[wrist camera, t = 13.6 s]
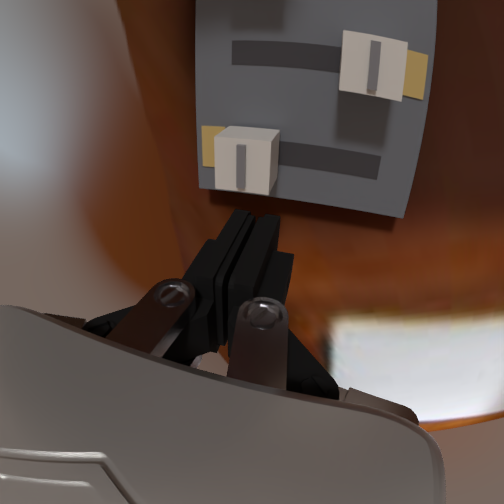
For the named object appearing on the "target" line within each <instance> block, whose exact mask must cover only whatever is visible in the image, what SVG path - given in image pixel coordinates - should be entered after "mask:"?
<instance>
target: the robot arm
mask: <svg viewBox="0 0 504 504" xmlns="http://www.w3.org/2000/svg"><path fill="white" fill-rule="evenodd" d="M255 220H256V218H255V216H252V215H251V212H250V211H245V210H238V209H235V210H234V212H233V213H232V215H231V217H230V218H229V220H228V221H227V223H226V225H225V226H224V228H223V229H222V231H221V233H220V234H219V236H218V237H217V239H216V240H213V239H208V240H207V241H206V242H205V244H204V245H203V247H202V248H201V250H200V251H199V253H198V254H197V256H196V257H195V259H194V261H193V262H192V264H191V265H190V267H189V268H188V270H187V271H186V273H185V275H184V276H183V278H182V279H178V278H171V279H166V280H163V281H161V282H158V283H157V284H156V285H154V286H153V287H152V288H151V289H150V290H149V291H148V293H147V294H146V295H145V296H144V297H143V298H142V299H141V300H140V301H139V302H138V303H137V304H136V305H134V306H131V307H128V308H125V309H122V310H119V311H115V312H112V313H109V314H106V315H103V316H100V317H97V318H94V319H92V320H90V321H89V322H87V321H86V319H82V318H75V317H68V316H60V315H55V314H48V313H40V312H37V311H34V310H31V309H27V308H24V307H19V306H12V305H0V504H446V480H445V469H444V463H443V458H442V454H441V451H440V448H439V446H438V444H437V442H436V441H435V439H434V438H433V437H432V436H431V435H430V434H429V433H428V432H426V431H425V430H424V429H422V428H421V427H419V421H418V418H417V416H416V414H415V413H414V412H413V411H412V410H411V409H410V408H408V407H406V406H403V405H400V404H397V403H394V402H391V401H388V400H385V399H382V398H379V397H376V396H373V395H370V394H367V393H364V392H362V391H359V390H356V389H353V388H349V390H346V389H343V388H341V387H338V385H337V383H336V382H335V380H334V379H333V378H332V377H331V376H330V374H329V373H328V372H327V371H326V370H325V369H324V368H323V367H322V366H321V364H320V363H319V362H318V361H317V360H316V359H315V358H314V357H313V355H312V354H311V353H310V352H309V351H308V350H307V349H306V348H305V347H304V345H303V344H302V343H301V342H300V341H299V340H298V339H297V338H296V336H295V335H294V334H293V333H292V332H291V331H290V330H289V328H288V312H287V310H286V308H285V307H284V305H285V301H286V297H287V292H288V288H289V283H290V278H291V272H292V266H293V259H294V254H290V253H285V252H279V251H277V247H278V237H279V228H280V216H276V215H270V214H265V216H264V217H259V218H258V220H257V222H256V224H255ZM227 340H228V357H229V358H230V360H229V365H228V371H227V377H225V376H221V375H218V374H214V373H210V372H207V371H203V370H199V369H196V368H197V367H198V365H199V364H200V362H201V359H202V354H205V353H207V352H210V351H211V352H215V353H217V351H218V349H219V346H220V345H223V346H225V345H226V342H227Z"/></svg>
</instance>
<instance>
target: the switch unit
mask: <svg viewBox="0 0 504 504" xmlns="http://www.w3.org/2000/svg"><path fill="white" fill-rule="evenodd" d="M436 21H437V0H196V27H195V71H196V121H197V149H198V171H199V188H205V189H214V190H223V191H231V192H239V193H247V194H255V195H263V196H270V197H277V198H284V199H291V200H298V201H305V202H311V203H318V204H324V205H330V206H336V207H342V208H348V209H354V210H360V211H365V212H371V213H376V214H382V215H387V216H392V217H398V218H403V217H404V213H405V209H406V206H407V202H408V198H409V194H410V190H411V186H412V182H413V178H414V174H415V169H416V165H417V160H418V156H419V151H420V146H421V141H422V136H423V130H424V125H425V119H426V113H427V107H428V101H429V94H430V87H431V79H432V70H433V61H434V50H435V38H436ZM343 30H347V31H353V32H360V33H366V34H371V35H376V36H381V37H386V38H391V39H396V40H400V41H404V42H408V47H407V59H406V69H405V78H404V86H403V94H402V102H400V101H396V100H391V99H386V98H382V97H377V96H371V95H366V94H360V93H354V92H348V91H342V90H339V86H338V85H339V74H340V61H341V46H342V33H343ZM229 126H241V127H254V128H266V129H276V130H280V140H279V156H278V173H277V179H276V181H275V183H274V185H273V187H272V189H271V191H270V193H269V195H264V194H256V193H249V192H241V191H232V190H224V189H215V156H214V136H216V135H217V134H219V133H220V132H222V131H223V130H224V129H226V128H227V127H229Z"/></svg>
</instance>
